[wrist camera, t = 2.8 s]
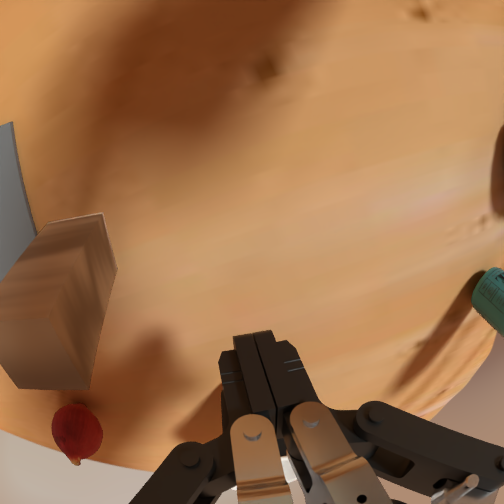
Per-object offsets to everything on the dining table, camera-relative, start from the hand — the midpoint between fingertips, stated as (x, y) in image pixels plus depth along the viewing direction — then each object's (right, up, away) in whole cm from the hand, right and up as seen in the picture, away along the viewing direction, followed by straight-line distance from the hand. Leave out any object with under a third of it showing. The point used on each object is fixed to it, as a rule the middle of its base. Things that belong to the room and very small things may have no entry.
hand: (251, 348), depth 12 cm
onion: (-19, -13, +16) cm, 28 cm away
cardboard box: (-12, +4, +8) cm, 15 cm away
